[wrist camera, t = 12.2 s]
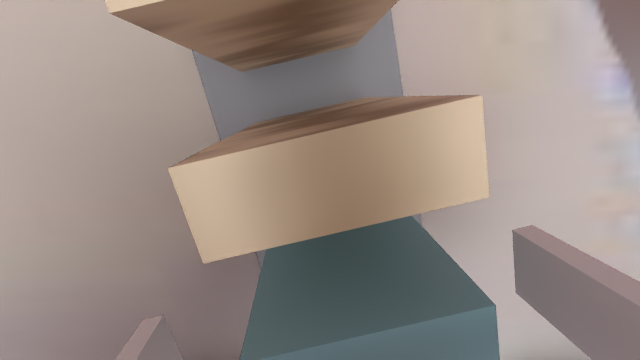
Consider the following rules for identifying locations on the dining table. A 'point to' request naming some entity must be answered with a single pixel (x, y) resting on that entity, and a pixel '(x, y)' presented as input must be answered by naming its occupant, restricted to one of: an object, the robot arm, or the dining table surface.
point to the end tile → (369, 300)
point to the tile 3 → (255, 26)
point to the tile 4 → (333, 171)
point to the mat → (302, 83)
